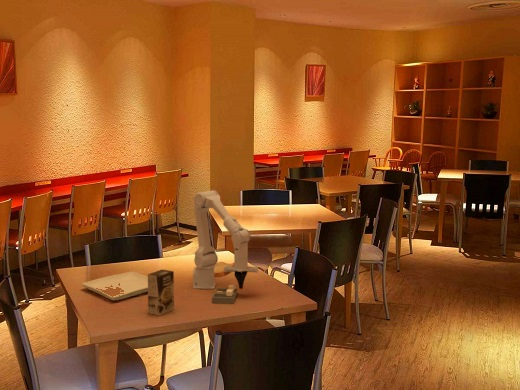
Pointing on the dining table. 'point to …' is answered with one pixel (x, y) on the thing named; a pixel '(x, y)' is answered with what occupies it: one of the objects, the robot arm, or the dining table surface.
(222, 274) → the slice of bread
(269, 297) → the dining table surface
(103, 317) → the dining table surface
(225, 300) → the switch board
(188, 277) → the dining table surface
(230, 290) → the front tab
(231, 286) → the tab
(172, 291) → the coffee box
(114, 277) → the square plate
